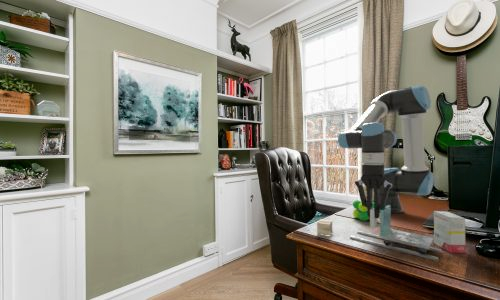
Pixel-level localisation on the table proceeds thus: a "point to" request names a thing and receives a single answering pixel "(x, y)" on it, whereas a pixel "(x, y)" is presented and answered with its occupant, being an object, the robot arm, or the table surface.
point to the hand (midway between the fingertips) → (373, 225)
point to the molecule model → (360, 210)
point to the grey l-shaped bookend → (401, 233)
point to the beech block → (324, 227)
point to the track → (395, 247)
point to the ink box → (449, 231)
